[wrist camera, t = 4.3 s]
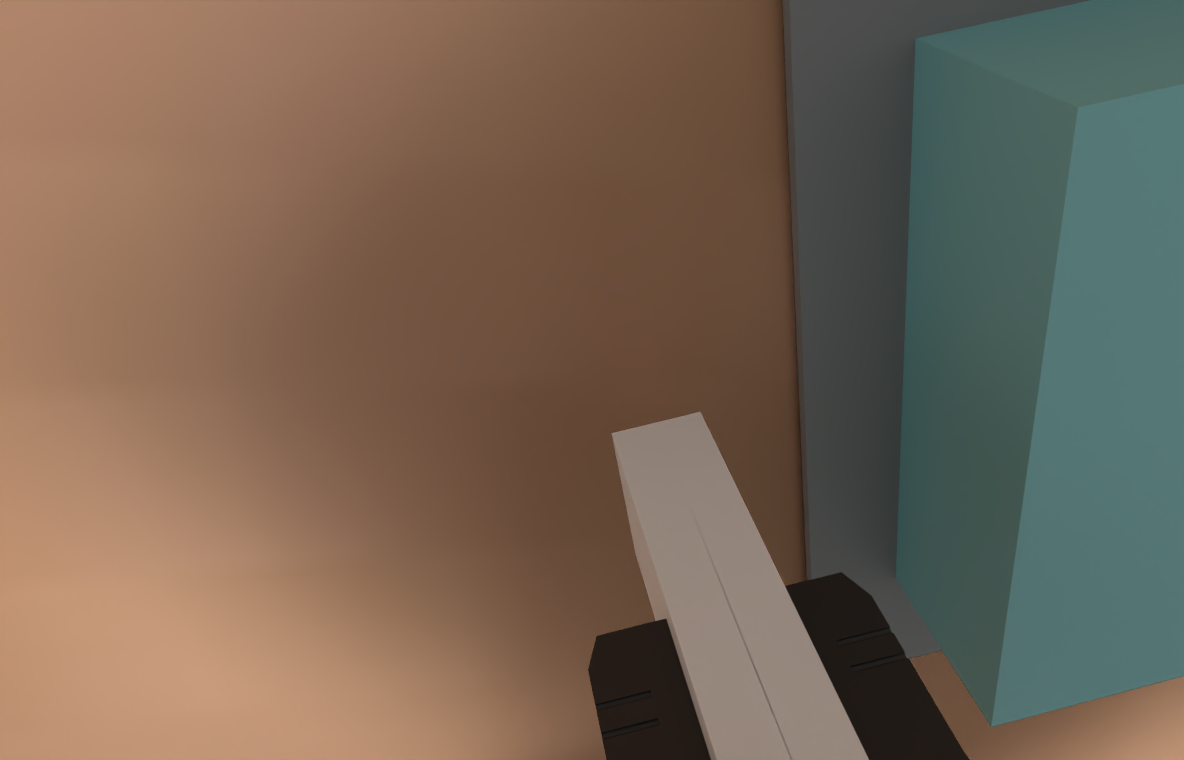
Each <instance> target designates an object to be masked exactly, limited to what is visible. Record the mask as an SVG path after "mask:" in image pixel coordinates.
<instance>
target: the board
mask: <svg viewBox="0 0 1184 760" xmlns="http://www.w3.org/2000/svg"><path fill="white" fill-rule="evenodd" d="M1085 1H1089V0H782V3H783V27H784V51H785V74H786V98H787V122H788V146H789V169H790V193H791V217H792V241H793V264H794V288H795V312H796V335H797V359H798V383H799V407H800V430H801V454H802V478H803V502H804V525H805V549H806V573H807V581H808V580H812V579H816V578H820V577H824V576H828V575H832V574H836V573H839V572H842V573H843V574H845V575H846V576H847V577H848V578H850V579H851V580H852V581H854V582H855V583H856V584H857V585H859V586H860V587H861V588H863V589H864V590H865V591H866V592H868V593H869V594H870V595H872V597H873V599H874V601H875V602H876V604H877V606H878V607H879V609H880V611H881V612H882V614H883V616H884V617H885V619H886V621H887V623H888V624H889V626H890V630H891V632H892V633H894V634H895V636H896V638H897V640H898V641H899V643H900V645H901V646H902V648H903V650H904V651H905V655H906V658H907V659H910V658H914V657H918V656H922V655H926V654H930V653H933V652H937V651H941V648H940V647H939V645H938V643H937V642H936V640H935V639H934V637H933V636H932V634H931V633H930V631H929V629H928V628H927V626H926V625H925V623H924V622H923V620H922V619H921V617H920V615H919V614H918V612H917V611H916V609H915V608H914V606H913V605H912V603H911V602H910V600H909V598H908V597H907V595H906V594H905V592H904V591H903V589H902V588H901V586H900V584H899V583H898V581H897V580H896V559H897V532H898V505H899V477H900V450H901V423H902V396H903V369H904V342H905V314H906V287H907V260H908V233H909V206H910V179H911V152H912V124H913V97H914V70H915V43H916V38H920V37H925V36H929V35H934V34H939V33H943V32H948V31H952V30H957V29H961V28H966V27H971V26H975V25H980V24H984V23H989V22H993V21H998V20H1003V19H1007V18H1012V17H1016V16H1021V15H1025V14H1030V13H1035V12H1039V11H1044V10H1048V9H1053V8H1057V7H1062V6H1067V5H1071V4H1076V3H1080V2H1085Z"/></svg>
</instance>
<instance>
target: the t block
mask: <svg viewBox="0 0 1184 760" xmlns="http://www.w3.org/2000/svg"><path fill="white" fill-rule="evenodd" d="M896 580H897V581H898V583H899V584H900V586H901V588H902V589H903V591H904V592H905V594H906V595H907V597H908V598H909V600H910V602H911V603H912V605H913V606H914V608H915V609H916V611H917V612H918V614H919V615H920V617H921V619H922V620H923V622H924V623H925V625H926V626H927V628H928V629H929V631H930V633H931V634H932V636H933V637H934V639H935V640H936V642H937V643H938V645H939V647H940V648H941V650H942V651H943V653H944V654H945V656H946V657H947V659H948V661H949V662H950V664H951V665H952V667H953V668H954V670H955V671H956V673H957V675H958V676H959V678H960V679H961V681H962V682H963V684H964V685H965V687H966V689H967V690H968V692H969V693H970V695H971V696H972V698H973V699H974V701H975V703H976V704H977V706H978V707H979V709H980V710H981V712H982V713H983V715H984V716H985V718H986V720H987V721H988V723H989V724H990V726H991V727H994V726H997V725H1001V724H1005V723H1009V722H1012V721H1016V720H1020V719H1024V718H1027V717H1031V716H1035V715H1039V714H1042V713H1046V712H1050V711H1054V710H1057V709H1061V708H1065V707H1069V706H1073V705H1076V704H1080V703H1084V702H1088V701H1091V700H1095V699H1099V698H1103V697H1106V696H1110V695H1114V694H1118V693H1121V692H1125V691H1129V690H1133V689H1137V688H1140V687H1144V686H1148V685H1152V684H1155V683H1159V682H1163V681H1167V680H1170V679H1174V678H1178V677H1182V676H1184V0H1089V1H1085V2H1080V3H1076V4H1071V5H1067V6H1062V7H1057V8H1053V9H1048V10H1044V11H1039V12H1035V13H1030V14H1025V15H1021V16H1016V17H1012V18H1007V19H1003V20H998V21H993V22H989V23H984V24H980V25H975V26H971V27H966V28H961V29H957V30H952V31H948V32H943V33H939V34H934V35H929V36H925V37H920V38H916V43H915V70H914V97H913V124H912V152H911V179H910V206H909V233H908V260H907V287H906V314H905V342H904V369H903V396H902V423H901V450H900V477H899V505H898V532H897V559H896Z"/></svg>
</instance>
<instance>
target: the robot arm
mask: <svg viewBox="0 0 1184 760" xmlns="http://www.w3.org/2000/svg"><path fill="white" fill-rule="evenodd" d="M612 438H613V443H614V448H615V453H616V459H617V464H618V469H619V474H620V479H621V484H622V489H623V494H624V499H625V504H626V509H627V514H628V519H629V524H630V529H631V534H632V540H633V545H634V550H635V554H636V557H637V561H638V564H639V567H640V570H641V574H642V577H643V580H644V584H645V587H646V590H647V594H648V597H649V600H650V604H651V607H652V610H653V613H654V617H655V620H656V621H654V622H650V623H646V624H642V625H638V626H634V627H630V628H626V629H623V630H619V631H615V632H611V633H607V634H603V635H599V636H597V637H596V641H595V645H594V649H593V653H592V657H591V661H590V665H589V669H588V671H589V676H590V681H591V686H592V691H593V695H594V700H595V705H596V709H597V715H598V720H599V725H600V729H601V734H602V738H603V744H604V749H605V754H606V759H607V760H970V759H969V758H968V757H967V755H966V754H965V753H964V751H963V750H962V748H961V746H960V745H959V743H958V741H957V740H956V738H955V736H954V734H953V733H952V731H951V729H950V728H949V726H948V724H947V723H946V721H945V719H944V717H943V716H942V714H941V712H940V711H939V709H938V707H937V706H936V704H935V702H934V701H933V699H932V697H931V695H930V694H929V692H928V690H927V689H926V687H925V685H924V684H923V682H922V680H921V679H920V677H919V675H918V673H917V672H916V670H915V668H914V667H913V665H912V663H911V662H910V660H909V659H907V658H906V655H905V651H904V650H903V648H902V646H901V645H900V643H899V641H898V640H897V638H896V636H895V634H894V633H892V632H891V630H890V626H889V624H888V623H887V621H886V619H885V617H884V616H883V614H882V612H881V611H880V609H879V607H878V606H877V604H876V602H875V601H874V599H873V597H872V595H870V594H869V593H868V592H866V591H865V590H864V589H863V588H861V587H860V586H859V585H857V584H856V583H855V582H854V581H852V580H851V579H850V578H848V577H847V576H846V575H845V574H843V573H842V572H839V573H836V574H832V575H828V576H824V577H820V578H816V579H812V580H808V581H804V582H800V583H796V584H792V585H788V586H785V585H784V583H783V581H782V579H781V577H780V575H779V573H778V571H777V569H776V567H775V565H774V563H773V561H772V559H771V556H770V554H769V552H768V550H767V548H766V546H765V544H764V542H763V540H762V538H761V536H760V534H759V532H758V530H757V528H756V525H755V523H754V521H753V519H752V517H751V515H750V513H749V511H748V509H747V507H746V505H745V503H744V501H743V499H742V497H741V494H740V492H739V490H738V488H737V486H736V484H735V482H734V480H733V478H732V476H731V474H730V472H729V470H728V468H727V466H726V464H725V461H724V459H723V457H722V455H721V453H720V451H719V449H718V447H717V445H716V443H715V441H714V439H713V437H712V435H711V433H710V430H709V428H708V426H707V424H706V422H705V420H704V418H703V416H702V414H701V412H697V413H693V414H689V415H685V416H680V417H676V418H672V419H668V420H664V421H660V422H656V423H652V424H647V425H643V426H639V427H635V428H631V429H627V430H623V431H618V432H614V433H612Z"/></svg>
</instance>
